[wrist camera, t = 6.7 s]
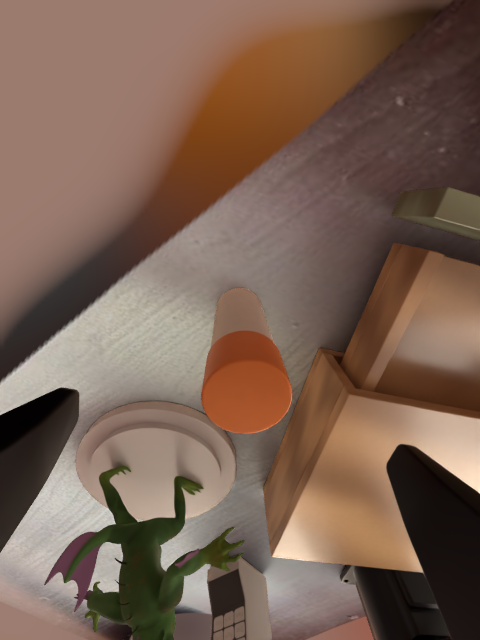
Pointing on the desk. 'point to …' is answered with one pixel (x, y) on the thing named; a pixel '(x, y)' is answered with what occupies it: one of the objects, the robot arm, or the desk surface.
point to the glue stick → (244, 368)
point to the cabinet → (356, 469)
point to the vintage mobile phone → (238, 603)
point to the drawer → (423, 312)
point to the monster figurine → (149, 509)
